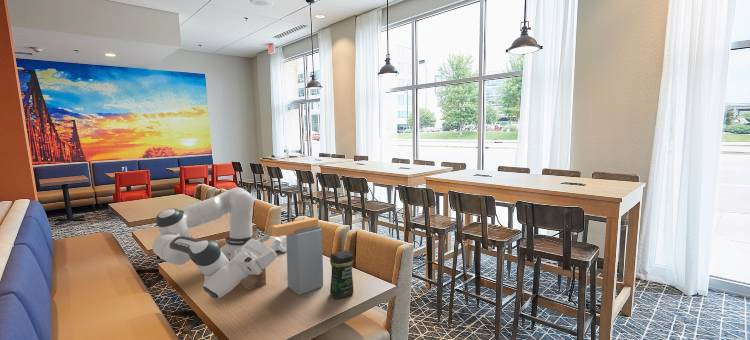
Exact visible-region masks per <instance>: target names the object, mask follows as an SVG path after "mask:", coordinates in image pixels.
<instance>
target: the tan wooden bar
mask: <svg viewBox="0 0 750 340" xmlns="http://www.w3.org/2000/svg"><path fill="white" fill-rule="evenodd" d="M317 226H319V218H315V217H309V218H303V219H299V220H294V221H288V222H285V223H279V224H274V225H271V235H272V237H280V236H286V235H289V234H294V233H295V231H298V230H303V229H308V228H312V227H317Z"/></svg>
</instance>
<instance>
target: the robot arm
mask: <svg viewBox="0 0 750 340" xmlns="http://www.w3.org/2000/svg"><path fill="white" fill-rule="evenodd" d="M254 203H255V201H254V197H253V195H252V194H251V193H250V192H249V191H247V190H246V189H244V188H242V187H233V188H231V189H228V190H225V191H224V192H222V193H219V194H216V195H215V196H212V197H210V198H207V199H204V200H201V201H199V202H195V203H193V204H190V205H187V206H185V207H184V208H182V209H178V208H168V209H164V210H162V211H160V212H159V213H157V215H156V217H155V225H156V226H157V227H158V228H157V229H158V232H159V234H160V235H159V236H157V237H156V238H155V239H154V240H153V242H152V244H151V246H152V247H151V248H152V251H153V253H154V254H155V255H156V256H158V257H159V258H160V259H161V260H163V261H165V262H166V263H170V264H172V265H178V266H181V265H184V264H187V263H188V262H189V261H192V262H193V263H194V264H195V265H196V267H197V268H198V269H199V270H200V271H201V273H203V277H204V283H203V285H202V288H203V290H204V292H206V294H208V295H209V296H210V297H212V298H213V299H221V298H222V297H224V296H226V295H227V294H228V293H229V292H231V291H232V290H234V288H235V287H237V286H238V284H239V283H240V281H241V280H242V279H244V278H245V277H247V276H248V275H249V274H250V275H252V274H255V275H259V274H260V273H261V272H262V270H261V269H264V268H265V269H266V268H267V267H269V265H271V264H272V263H273V262H274V261H275V260H276V259H277V256H278V254H277V251H276V249H277V247H278V246H279V245H280V244H281V242H280V241H279V240H276V241H275V242H274V244H273V246H271V245H270V246H268V245H266V244H264V242H266V241H268V240H270V239H271V237H270V235H269V234H265V235H263V236H261V237H260V238H258V239H257V240H256V239H255V238H254V233H253V212H254V211H253V210H254ZM227 214H229V222H228V223H229V227H228V228H229V236H227V237H226V238H225V239H224V240H225V242H226V243H225V244H224V245H223V246H221V247H220V245H219V244H218V241H216V240H214V239H210V238H208V239H198V238H194V237H192V235H191V232H190V231H191V230H190V229H193V228H196V227H200V226H202V225H205V224H208V223H210V222H213V221H216V220H218V219H221V218H222V217H223V216H225V215H227ZM238 251H239V252H238Z"/></svg>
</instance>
